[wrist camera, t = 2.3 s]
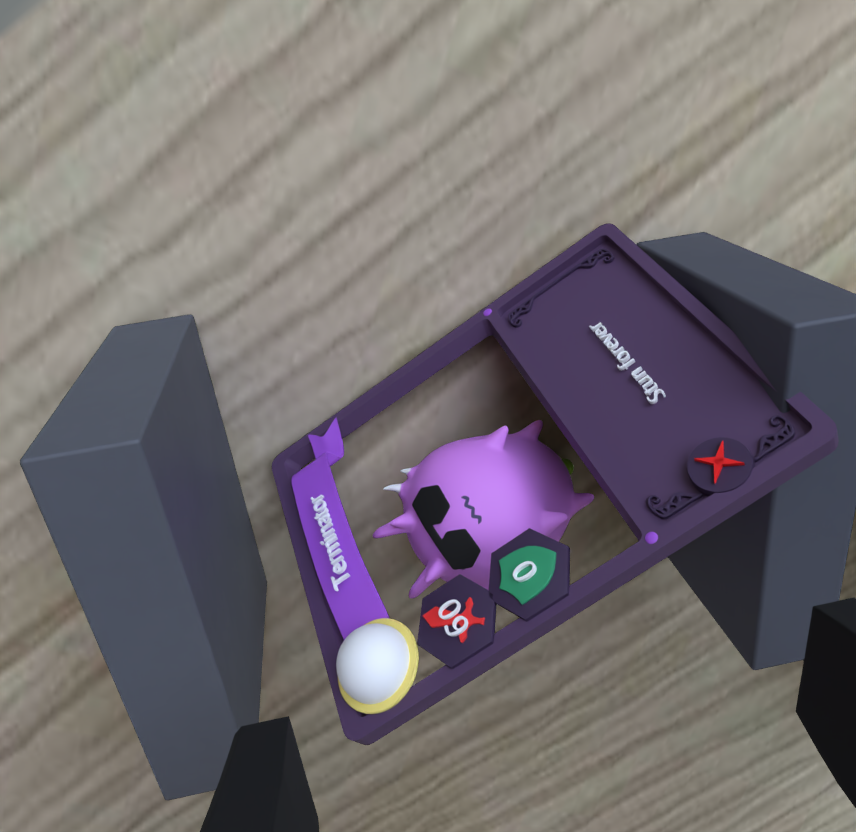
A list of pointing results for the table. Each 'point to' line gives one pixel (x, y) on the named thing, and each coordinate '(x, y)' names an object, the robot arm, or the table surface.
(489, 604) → the game card
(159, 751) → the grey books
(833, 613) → the robot arm
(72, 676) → the table surface
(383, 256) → the table surface
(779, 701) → the table surface
